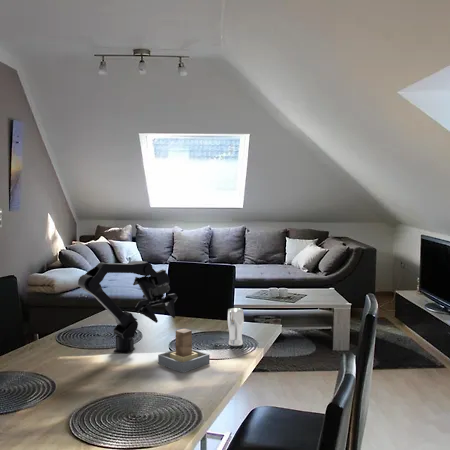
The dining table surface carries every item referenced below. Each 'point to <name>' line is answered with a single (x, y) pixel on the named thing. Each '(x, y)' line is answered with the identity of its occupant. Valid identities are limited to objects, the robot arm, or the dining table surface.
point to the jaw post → (183, 342)
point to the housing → (183, 360)
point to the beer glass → (235, 326)
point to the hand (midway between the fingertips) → (165, 319)
